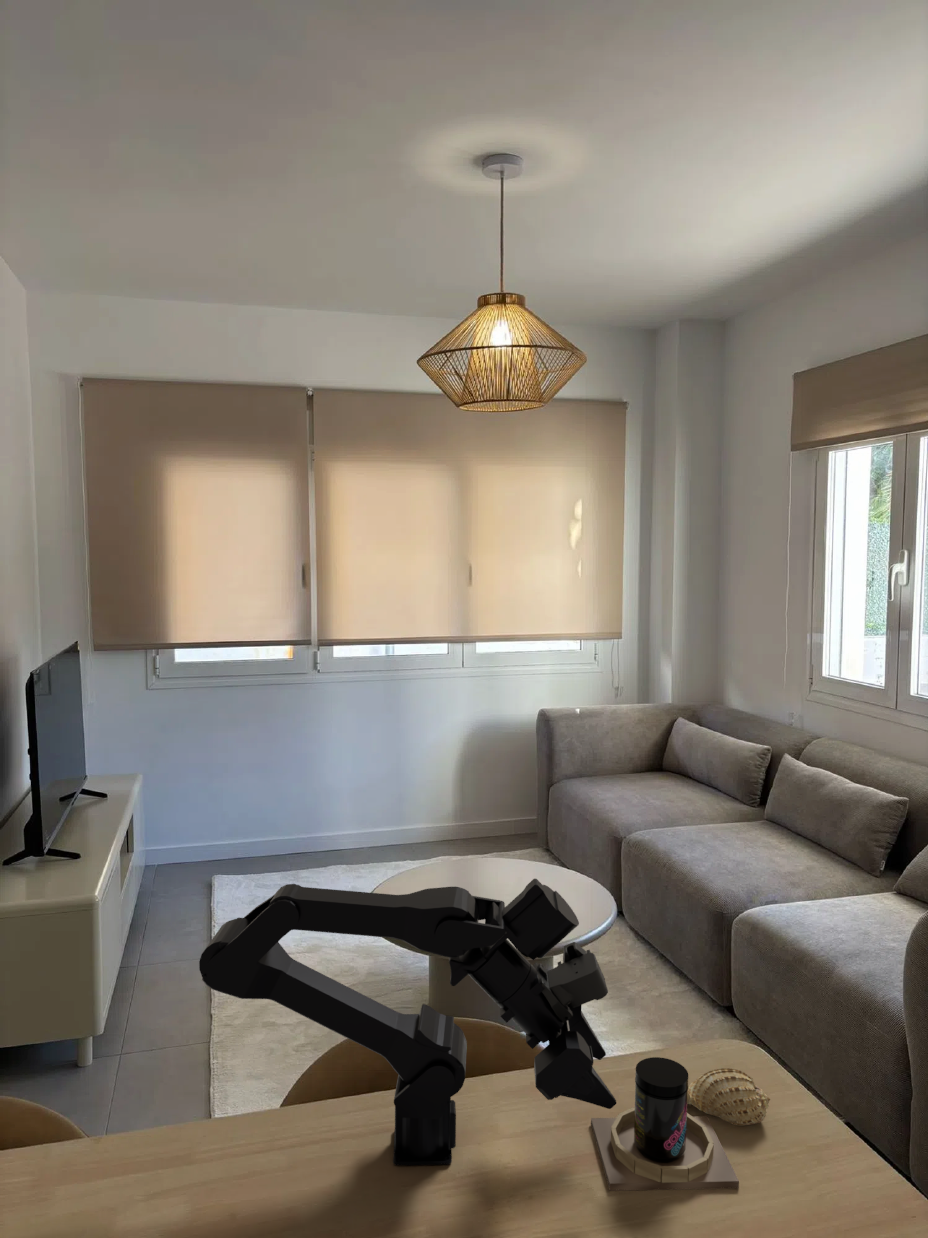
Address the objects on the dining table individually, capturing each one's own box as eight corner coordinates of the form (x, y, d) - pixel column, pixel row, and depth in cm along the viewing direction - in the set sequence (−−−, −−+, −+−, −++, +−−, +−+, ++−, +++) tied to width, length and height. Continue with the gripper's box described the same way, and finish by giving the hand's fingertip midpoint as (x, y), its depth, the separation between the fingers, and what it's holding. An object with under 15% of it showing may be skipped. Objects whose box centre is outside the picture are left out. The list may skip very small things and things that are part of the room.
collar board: (609, 1190, 97) (610, 1170, 97) (590, 1124, 108) (591, 1106, 108) (738, 1188, 98) (739, 1168, 97) (707, 1122, 109) (707, 1104, 108)
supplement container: (657, 1172, 99) (659, 1093, 98) (622, 1141, 104) (624, 1066, 103) (697, 1155, 102) (699, 1078, 101) (661, 1125, 107) (663, 1052, 106)
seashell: (702, 1155, 107) (781, 1125, 106) (681, 1110, 107) (761, 1080, 106) (690, 1114, 115) (765, 1085, 114) (671, 1072, 115) (745, 1043, 114)
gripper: (572, 975, 92) (678, 1083, 92) (559, 901, 110) (646, 992, 111) (492, 1046, 93) (597, 1153, 93) (492, 961, 111) (580, 1051, 112)
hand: (608, 1080), depth 102 cm, fingers open, 9 cm apart
